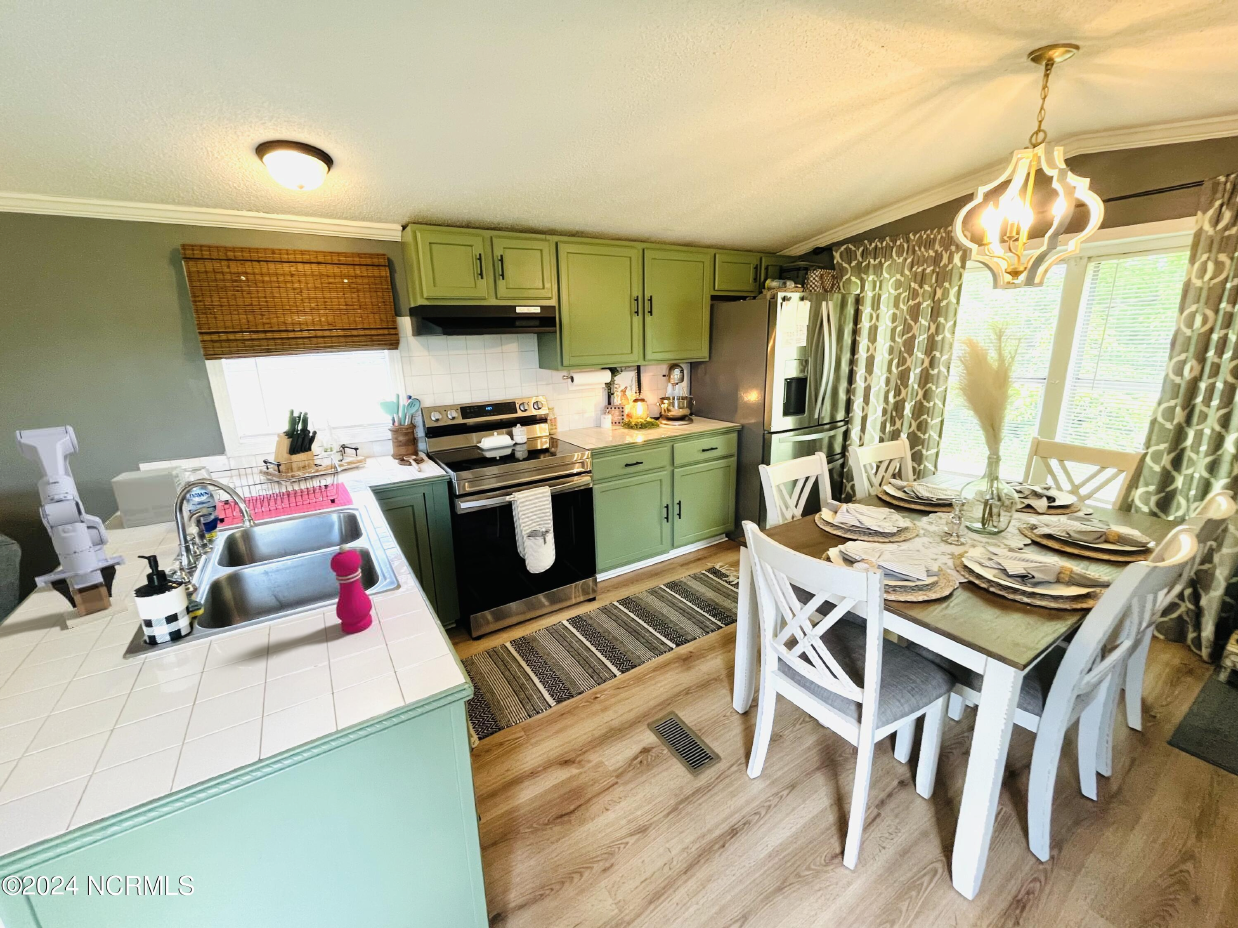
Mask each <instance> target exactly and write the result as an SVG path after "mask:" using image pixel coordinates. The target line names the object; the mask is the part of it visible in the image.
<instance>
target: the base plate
mask: <svg viewBox="0 0 1238 928" xmlns="http://www.w3.org/2000/svg"><path fill="white" fill-rule="evenodd" d="M110 602H111V605H112V606H111V607H108V608H104V609H101V610H98V611H95V612H92V613H88V614H85V615H82V616H80V614H79V612H78V610H77V608H74V609H71V610H68V611H65V612H62V614H63V617H64V620H65V623H66V625H67V627H68V630H70V628H71V629H73V628H72V627H74V628H77V627H79V626H80V627H81V626H83V625H85V624H89V623H93V622H95V621H98V620H102V619H104V618H105V619H106V618H108V617H111V616H113V615H116V614H117V615H118V614H120V613H123V612H127V611H128V610H129V608H128V606H127V605H126V603H125V601H124V600H123V598H122V596H121V595H117V596H112V597H110Z"/></svg>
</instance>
